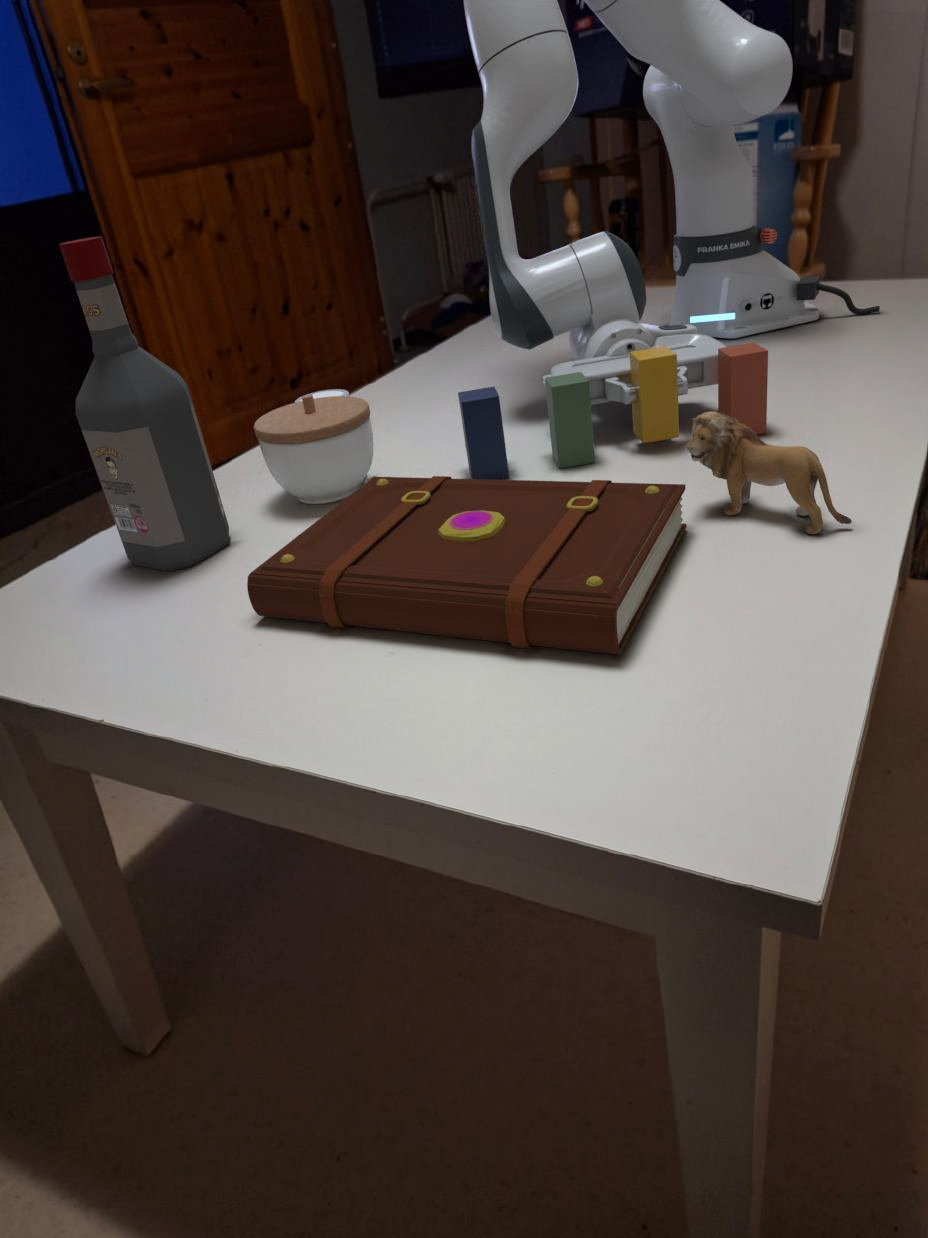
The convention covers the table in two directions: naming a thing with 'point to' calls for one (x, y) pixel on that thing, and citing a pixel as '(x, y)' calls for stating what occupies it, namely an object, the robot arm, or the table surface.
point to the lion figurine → (759, 465)
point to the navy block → (484, 433)
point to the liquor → (142, 431)
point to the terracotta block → (744, 384)
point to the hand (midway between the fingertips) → (656, 392)
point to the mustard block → (655, 394)
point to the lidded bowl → (318, 446)
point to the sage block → (570, 419)
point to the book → (481, 560)
